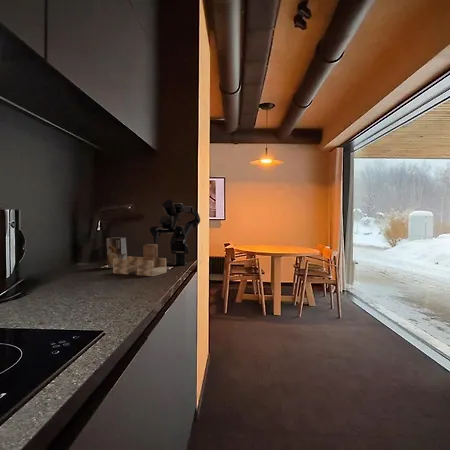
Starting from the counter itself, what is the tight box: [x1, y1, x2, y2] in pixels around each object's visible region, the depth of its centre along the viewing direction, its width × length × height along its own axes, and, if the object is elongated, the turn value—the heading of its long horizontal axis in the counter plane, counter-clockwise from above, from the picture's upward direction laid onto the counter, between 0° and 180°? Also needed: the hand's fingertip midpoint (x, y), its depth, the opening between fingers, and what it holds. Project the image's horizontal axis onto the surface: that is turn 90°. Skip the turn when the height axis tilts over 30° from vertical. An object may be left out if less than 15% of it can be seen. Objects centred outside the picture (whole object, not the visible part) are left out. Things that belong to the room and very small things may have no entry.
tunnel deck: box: [112, 255, 168, 277], centre depth 194 cm, size 24×11×7 cm, turn 64°
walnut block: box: [142, 243, 159, 268], centre depth 190 cm, size 5×5×11 cm
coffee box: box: [106, 237, 128, 269], centre depth 215 cm, size 9×6×16 cm
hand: (162, 243), depth 201 cm, fingers open, 9 cm apart
